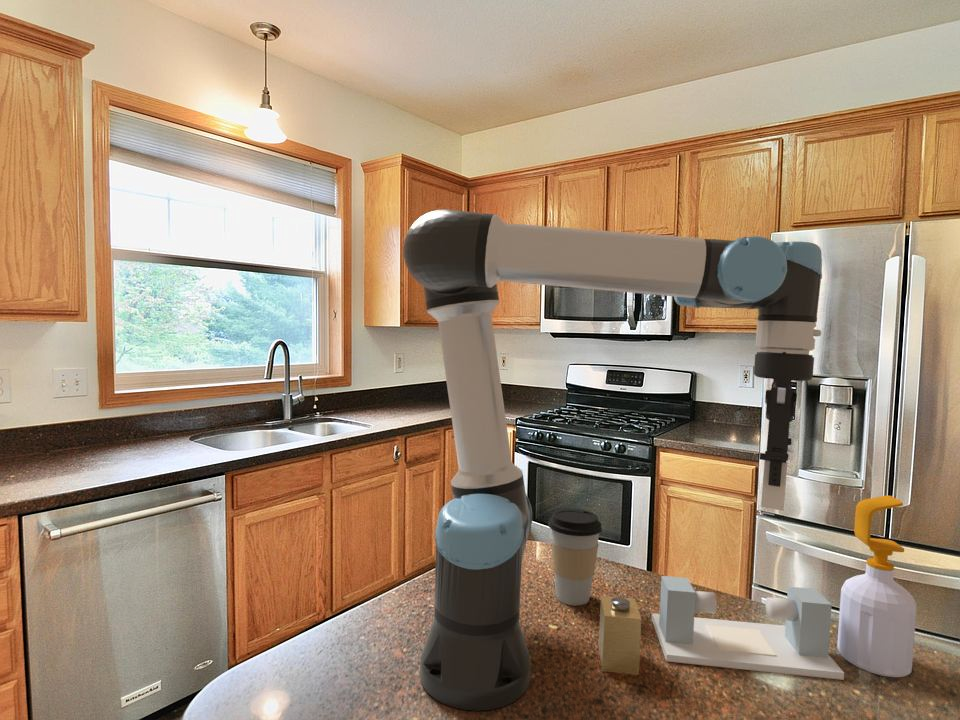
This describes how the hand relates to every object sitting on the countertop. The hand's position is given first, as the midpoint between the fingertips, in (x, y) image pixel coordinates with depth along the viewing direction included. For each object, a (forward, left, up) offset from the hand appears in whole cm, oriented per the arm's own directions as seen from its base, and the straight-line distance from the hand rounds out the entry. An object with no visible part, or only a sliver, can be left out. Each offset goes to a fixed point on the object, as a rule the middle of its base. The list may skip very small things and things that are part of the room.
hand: (773, 496), depth 81 cm
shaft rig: (-3, +2, -24) cm, 25 cm away
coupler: (-22, -5, -24) cm, 33 cm away
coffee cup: (-28, +13, -25) cm, 39 cm away
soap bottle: (+16, +2, -25) cm, 30 cm away
